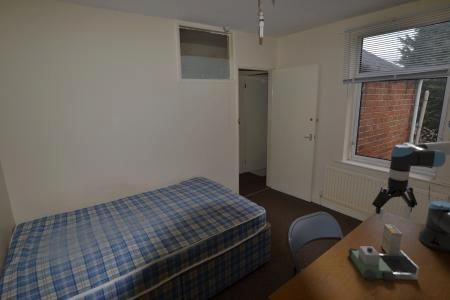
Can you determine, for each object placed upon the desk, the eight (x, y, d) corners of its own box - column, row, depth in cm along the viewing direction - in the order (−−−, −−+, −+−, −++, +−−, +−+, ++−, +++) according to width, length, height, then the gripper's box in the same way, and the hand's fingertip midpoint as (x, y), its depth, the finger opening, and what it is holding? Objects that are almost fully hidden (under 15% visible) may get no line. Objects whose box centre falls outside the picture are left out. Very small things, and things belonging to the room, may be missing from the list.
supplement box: (398, 257, 113) (403, 233, 110) (387, 256, 114) (391, 232, 111) (390, 246, 121) (394, 224, 118) (380, 245, 122) (384, 223, 119)
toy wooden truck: (373, 255, 114) (376, 238, 112) (394, 281, 99) (398, 261, 96) (347, 255, 115) (350, 237, 113) (364, 280, 100) (367, 260, 97)
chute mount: (397, 258, 112) (399, 248, 111) (417, 279, 99) (419, 268, 98) (373, 258, 113) (375, 247, 111) (390, 278, 100) (392, 267, 99)
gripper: (418, 173, 111) (411, 213, 116) (366, 176, 111) (362, 215, 116) (431, 179, 104) (424, 221, 109) (377, 182, 103) (372, 224, 108)
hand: (392, 218), depth 112 cm, fingers open, 13 cm apart
